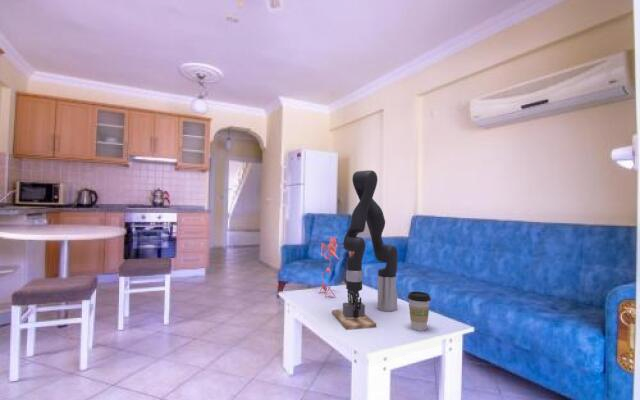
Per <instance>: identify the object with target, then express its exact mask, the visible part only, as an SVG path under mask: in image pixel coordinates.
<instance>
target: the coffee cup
mask: <svg viewBox="0 0 640 400" xmlns="http://www.w3.org/2000/svg"><path fill="white" fill-rule="evenodd" d="M407 299H408V309H409V317H410V318H409V319H410V325H411V329H412V330H414V331H417V332H422V331H423V332H424V331H426V330H427V327H428V325H427V324H428V320H429V313H430V312H429V311H430V303H431V302H430V301H432V298H431V296H430V294H429V293H427V292H423V291H410V292H409V293H408V295H407Z"/></svg>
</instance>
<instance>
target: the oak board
mask: <svg viewBox="0 0 640 400" xmlns="http://www.w3.org/2000/svg"><path fill="white" fill-rule="evenodd" d="M331 313H332V315H333V317H335V319H336V320H337V321H338V322H339V323H340V324H341V325H342V326H343V328H344V329H345V331H346V330H347V331H348V330H358V329H370V328H371V329H372V328H373V329H374V328H377V323H376V322H375V321H374V320H373V319H371V318H370V317H369V316H368V315H367V314H366V313H365V318H362V319H344V318H343V316H342V314H343V309H332V310H331Z"/></svg>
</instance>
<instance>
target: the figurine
mask: <svg viewBox="0 0 640 400" xmlns="http://www.w3.org/2000/svg"><path fill="white" fill-rule="evenodd" d="M328 242H329V243H328V244H327V245H326V244H325V243H324V242H322V243H321V244H320V245H321V249H320V250H321V251H320V256H321V257H324V258H325V260H327V261H328V260H329V266H328V267H327V268H326V270H325V271H324V272H322V274H321V278H322V280H324V277H323V276H324V275H323V274H324V273H329V274H330V273H331V271H332V270H331V264H332V260H331V258H329V257H332V256H333V258H336V259H337V260H340V258H339V257H338V255H337V249H339V247H338V243H337V239H336V236H330V237H329V240H328ZM323 251H325V254H323ZM326 255H327V256H326ZM322 290H323V291H324V292H325V295H324V298H326V297H327V295H328V293H329V291H330V293H331V294H332V295H333V297H336V295H335V293H334V292H335V290H332V289H331V284H329V286H327V285H326V284H325V282H324V281H322V283H321V288H320V290H319V292H318V295H319V294H321V292H322Z"/></svg>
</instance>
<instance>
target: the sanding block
mask: <svg viewBox="0 0 640 400" xmlns="http://www.w3.org/2000/svg"><path fill="white" fill-rule="evenodd" d="M365 306H366V305H365V304H364V303H363V302H362V301H361V309H360V310H358V318H354V317H353V310H354V309H353V305H352V303H348V302H342V310H343V314H342V316H343V318H344V319H362V318H365V314H366V313H365V312H366V311H365Z"/></svg>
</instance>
